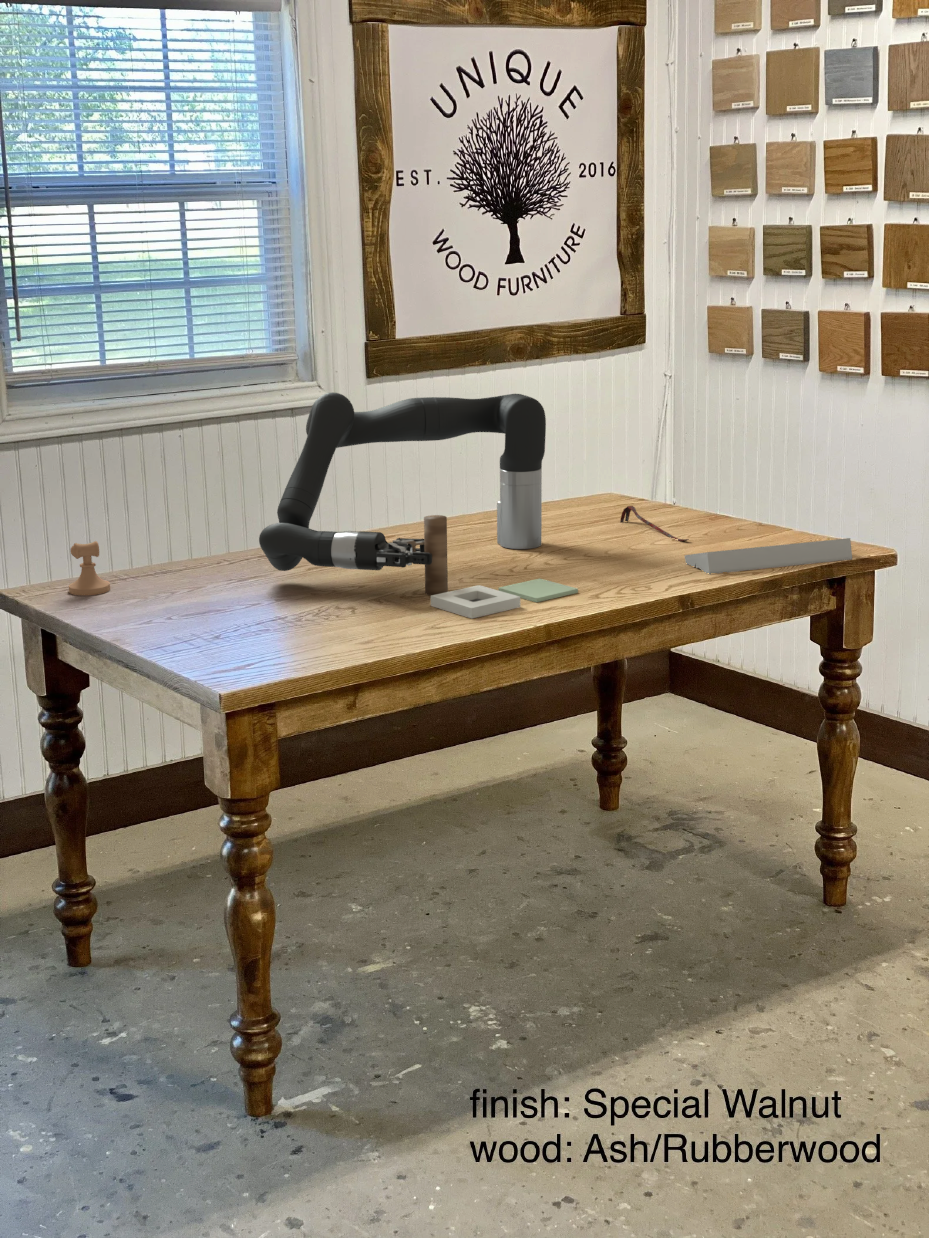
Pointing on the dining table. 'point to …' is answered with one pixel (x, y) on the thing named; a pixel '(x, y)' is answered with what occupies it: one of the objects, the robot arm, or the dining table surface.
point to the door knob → (87, 571)
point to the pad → (538, 590)
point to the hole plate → (475, 601)
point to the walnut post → (436, 554)
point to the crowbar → (627, 512)
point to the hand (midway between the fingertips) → (437, 553)
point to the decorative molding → (772, 556)
